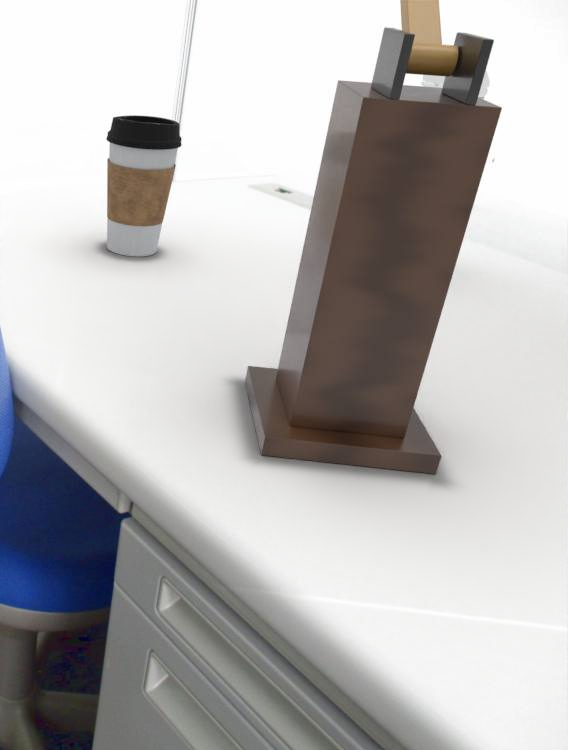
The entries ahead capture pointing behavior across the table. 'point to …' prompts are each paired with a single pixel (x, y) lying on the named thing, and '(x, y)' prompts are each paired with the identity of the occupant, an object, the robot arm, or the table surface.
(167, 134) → the coffee cup
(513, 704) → the table surface
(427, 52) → the lever
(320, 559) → the table surface
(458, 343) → the table surface
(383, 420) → the pedestal
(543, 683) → the table surface
